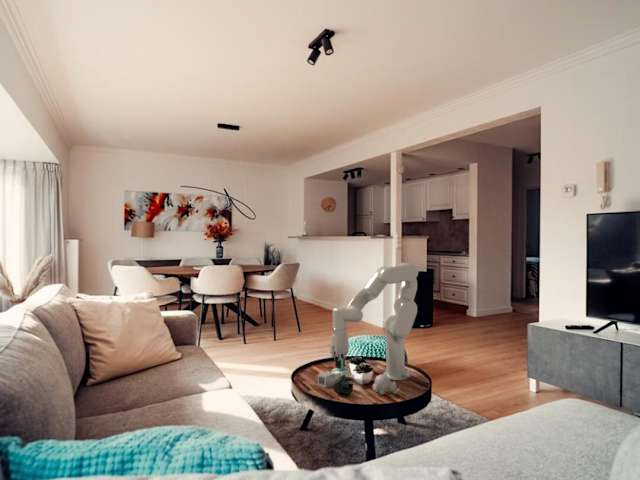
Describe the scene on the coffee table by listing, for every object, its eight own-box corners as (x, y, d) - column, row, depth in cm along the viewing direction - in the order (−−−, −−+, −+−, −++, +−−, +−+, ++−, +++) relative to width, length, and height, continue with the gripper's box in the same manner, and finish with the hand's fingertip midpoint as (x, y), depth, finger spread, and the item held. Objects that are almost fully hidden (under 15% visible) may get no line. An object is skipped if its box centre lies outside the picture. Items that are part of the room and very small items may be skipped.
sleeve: (334, 383, 194) (334, 373, 194) (325, 387, 189) (325, 376, 189) (327, 381, 197) (327, 370, 197) (317, 384, 192) (317, 374, 192)
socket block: (349, 378, 201) (349, 367, 201) (342, 381, 197) (342, 370, 197) (339, 375, 206) (339, 364, 206) (331, 378, 201) (331, 367, 201)
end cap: (339, 388, 188) (339, 374, 189) (353, 389, 186) (353, 375, 186) (333, 395, 179) (333, 381, 179) (348, 397, 177) (348, 382, 177)
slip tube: (344, 376, 201) (344, 358, 201) (328, 382, 192) (328, 363, 192) (339, 375, 203) (339, 357, 203) (324, 381, 194) (324, 362, 194)
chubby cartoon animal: (395, 402, 177) (403, 385, 177) (371, 391, 178) (378, 374, 178) (394, 396, 184) (401, 379, 184) (371, 385, 186) (377, 369, 185)
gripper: (344, 327, 209) (344, 362, 209) (324, 333, 198) (324, 369, 198) (355, 330, 204) (355, 365, 204) (335, 335, 193) (335, 372, 192)
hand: (340, 366), depth 201 cm, fingers closed on slip tube, 2 cm apart
